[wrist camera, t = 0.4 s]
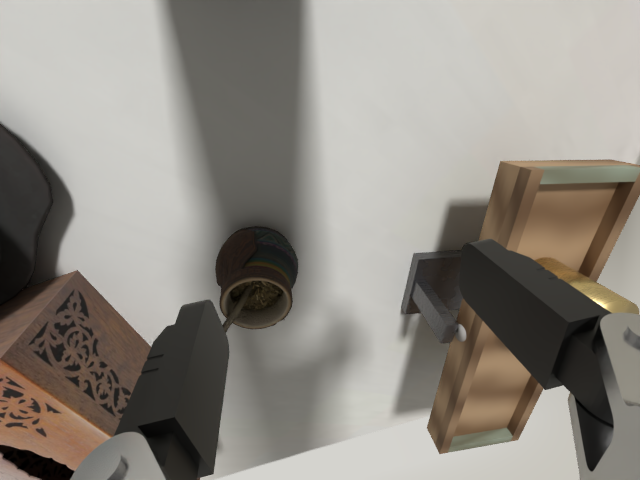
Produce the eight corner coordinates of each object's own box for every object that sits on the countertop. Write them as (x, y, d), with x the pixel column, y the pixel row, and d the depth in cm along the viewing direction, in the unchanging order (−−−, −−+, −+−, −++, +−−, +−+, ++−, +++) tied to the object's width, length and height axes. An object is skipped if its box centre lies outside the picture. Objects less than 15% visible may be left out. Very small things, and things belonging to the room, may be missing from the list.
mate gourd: (310, 249, 31) (327, 322, 22) (256, 290, 32) (254, 373, 24) (259, 201, 27) (257, 267, 19) (202, 250, 29) (177, 331, 20)
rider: (518, 259, 25) (588, 304, 19) (571, 255, 25) (652, 298, 20) (501, 308, 27) (560, 361, 21) (550, 303, 28) (618, 353, 22)
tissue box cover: (-65, 318, 28) (-206, 429, 20) (79, 268, 28) (-1, 358, 20) (113, 440, 42) (75, 536, 33) (210, 407, 42) (197, 495, 33)
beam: (497, 161, 23) (529, 169, 20) (612, 159, 24) (655, 167, 22) (425, 428, 37) (438, 454, 34) (501, 415, 38) (519, 439, 35)
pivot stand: (413, 253, 33) (452, 303, 26) (525, 246, 35) (587, 290, 29) (401, 307, 37) (432, 362, 30) (501, 297, 39) (551, 347, 33)
